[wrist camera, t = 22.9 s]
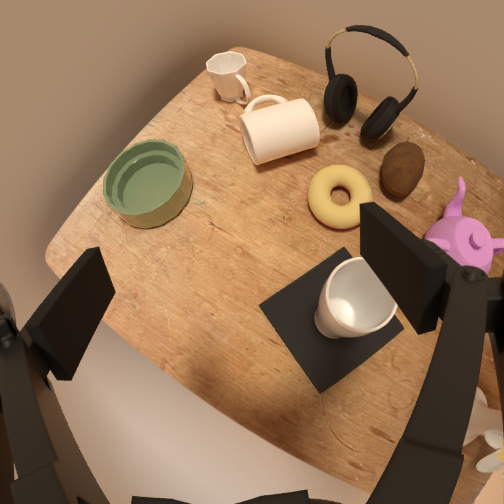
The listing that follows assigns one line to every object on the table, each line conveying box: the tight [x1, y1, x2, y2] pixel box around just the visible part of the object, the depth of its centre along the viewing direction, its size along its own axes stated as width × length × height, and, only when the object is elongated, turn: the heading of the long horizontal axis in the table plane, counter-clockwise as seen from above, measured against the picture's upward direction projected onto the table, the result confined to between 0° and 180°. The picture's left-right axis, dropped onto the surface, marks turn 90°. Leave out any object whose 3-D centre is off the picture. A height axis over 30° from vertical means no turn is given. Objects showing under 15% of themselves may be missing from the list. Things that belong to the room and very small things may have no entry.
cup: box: [206, 51, 251, 105], centre depth 51 cm, size 7×10×8 cm
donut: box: [308, 165, 373, 229], centre depth 45 cm, size 10×5×9 cm
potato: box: [382, 142, 425, 197], centre depth 44 cm, size 7×10×6 cm
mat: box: [259, 247, 404, 394], centre depth 40 cm, size 14×14×1 cm
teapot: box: [424, 177, 504, 274], centre depth 38 cm, size 12×14×9 cm
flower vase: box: [463, 387, 504, 483], centre depth 23 cm, size 13×18×25 cm
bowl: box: [103, 139, 192, 229], centre depth 47 cm, size 13×13×5 cm
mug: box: [239, 95, 320, 165], centre depth 47 cm, size 12×10×8 cm
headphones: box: [323, 25, 418, 140], centre depth 41 cm, size 9×15×20 cm, turn 54°
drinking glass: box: [315, 257, 398, 339], centre depth 33 cm, size 7×7×15 cm
